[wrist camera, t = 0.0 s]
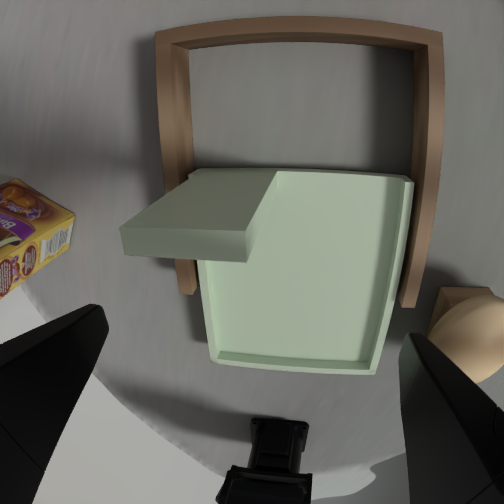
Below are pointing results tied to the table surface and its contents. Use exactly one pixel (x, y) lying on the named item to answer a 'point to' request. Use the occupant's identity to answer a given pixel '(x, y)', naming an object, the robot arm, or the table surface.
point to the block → (453, 301)
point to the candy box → (29, 233)
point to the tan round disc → (473, 336)
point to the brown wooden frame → (311, 30)
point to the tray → (286, 261)
